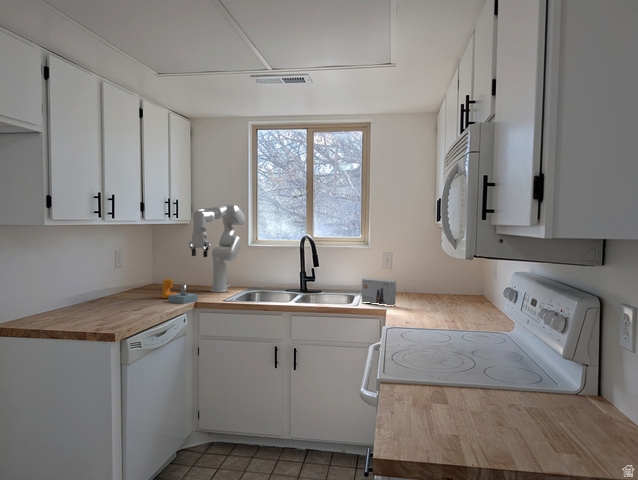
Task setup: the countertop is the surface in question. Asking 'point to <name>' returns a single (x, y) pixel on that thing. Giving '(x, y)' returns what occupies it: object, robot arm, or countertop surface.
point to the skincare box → (378, 291)
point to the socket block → (183, 298)
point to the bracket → (167, 288)
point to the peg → (183, 290)
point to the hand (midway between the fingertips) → (199, 256)
